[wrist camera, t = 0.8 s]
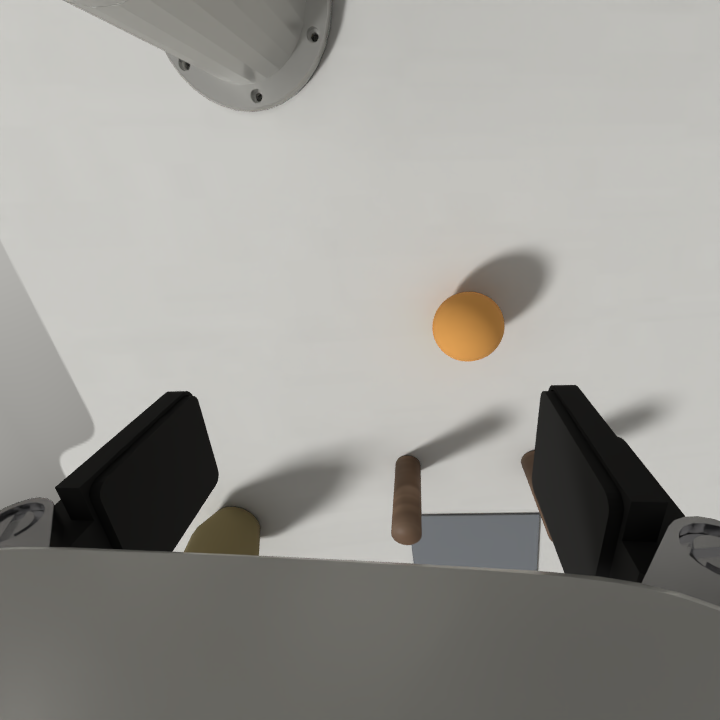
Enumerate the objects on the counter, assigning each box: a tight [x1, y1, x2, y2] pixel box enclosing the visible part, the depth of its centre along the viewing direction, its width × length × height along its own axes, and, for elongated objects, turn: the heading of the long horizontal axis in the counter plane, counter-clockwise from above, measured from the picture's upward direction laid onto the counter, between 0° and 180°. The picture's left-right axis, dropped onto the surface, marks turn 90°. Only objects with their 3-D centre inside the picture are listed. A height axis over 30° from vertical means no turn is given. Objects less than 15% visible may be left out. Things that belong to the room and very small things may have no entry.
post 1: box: [391, 455, 422, 545], centre depth 38 cm, size 3×3×9 cm
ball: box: [433, 292, 504, 361], centre depth 32 cm, size 6×6×6 cm
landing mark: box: [412, 513, 539, 571], centre depth 47 cm, size 14×14×1 cm
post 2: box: [521, 451, 553, 542], centre depth 36 cm, size 3×3×9 cm
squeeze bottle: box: [184, 507, 260, 556], centre depth 41 cm, size 8×8×18 cm
